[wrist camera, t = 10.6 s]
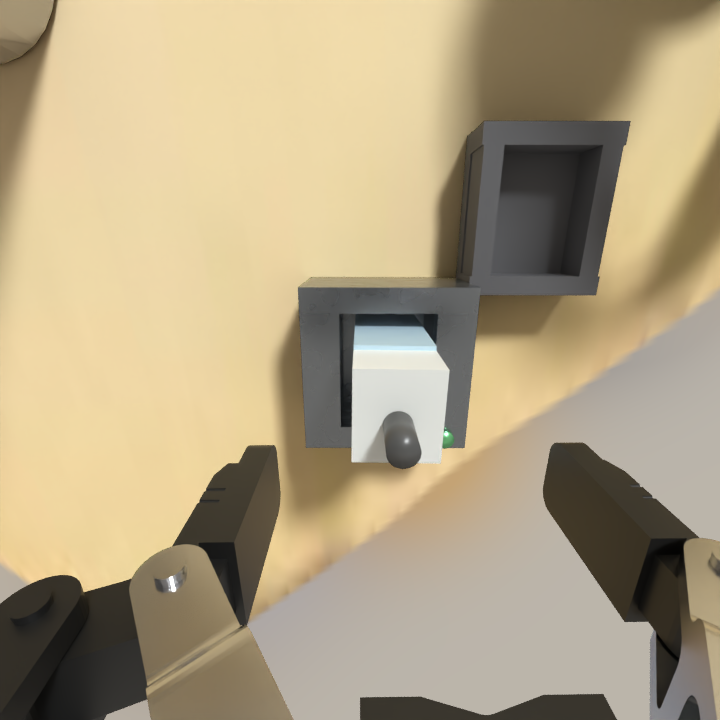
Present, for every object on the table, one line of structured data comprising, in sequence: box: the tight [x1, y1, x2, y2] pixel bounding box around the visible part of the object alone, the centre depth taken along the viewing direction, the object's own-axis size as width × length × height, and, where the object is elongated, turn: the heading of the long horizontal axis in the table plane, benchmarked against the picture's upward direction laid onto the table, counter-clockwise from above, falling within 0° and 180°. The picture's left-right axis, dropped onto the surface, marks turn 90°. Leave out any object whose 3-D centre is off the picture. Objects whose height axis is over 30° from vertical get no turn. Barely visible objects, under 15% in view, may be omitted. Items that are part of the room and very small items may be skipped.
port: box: [298, 277, 481, 448], centre depth 22 cm, size 9×9×5 cm
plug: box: [352, 314, 450, 469], centre depth 18 cm, size 5×4×12 cm
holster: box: [456, 121, 631, 295], centre depth 20 cm, size 8×7×3 cm
